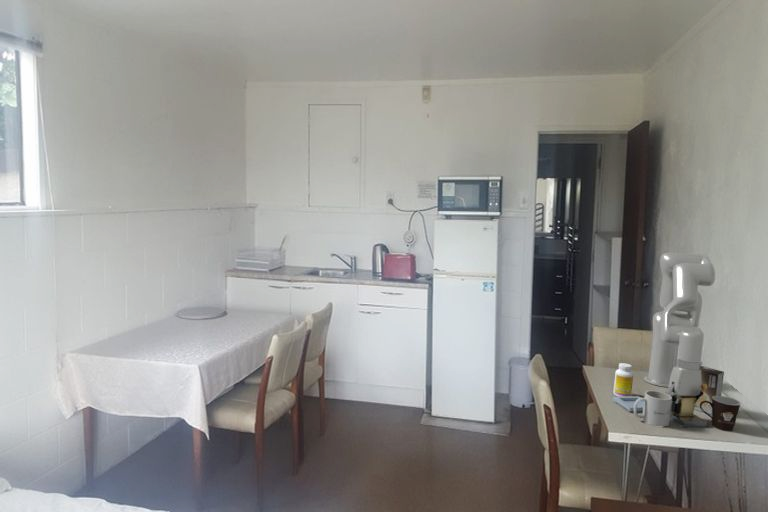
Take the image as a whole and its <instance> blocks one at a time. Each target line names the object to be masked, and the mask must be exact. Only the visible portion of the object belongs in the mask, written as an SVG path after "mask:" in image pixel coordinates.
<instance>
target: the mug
mask: <svg viewBox="0 0 768 512" xmlns="http://www.w3.org/2000/svg"><path fill="white" fill-rule="evenodd" d="M640 401H644V406H643V412H642V414H638V412H637V405H638V403H639V402H640ZM671 401H672V397H671V396H670V395H668V394H666V393H665V392H662V391H659V390H647V391H644V397H641V398H639V399H637V400H636V402H635V404H634V412H633V414H634V416H635V417H637V418H638V419H641V420H642V421H643V423H645V424H648V425H650V426H654V427H657V426H663V427H662V428H665V427H664V426H667V427H669V424H670V419H669V417H670V409H671Z"/></svg>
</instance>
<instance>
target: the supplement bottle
mask: <svg viewBox="0 0 768 512" xmlns="http://www.w3.org/2000/svg"><path fill="white" fill-rule="evenodd" d="M614 373H615V374H614V382H613V391H612V393H613V395H614V397H617V396H632V389H633V381H634V373H633V372H632V365H631V364H629V363H625V362H624V363H623V362H620V363H618V369H616V370H615V372H614Z"/></svg>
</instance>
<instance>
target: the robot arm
mask: <svg viewBox="0 0 768 512" xmlns="http://www.w3.org/2000/svg"><path fill="white" fill-rule="evenodd" d="M659 266H660V271H661V275H662V281H661V288H660V293H659V305H660V307H661V308H662V309H663V310H662V311H657V312H655V313H654V314H653V317H652V340H651V341H652V342H651V351H650V357H649V358H650V359H649V368H648V374H646V375H645V376H644V377H643V379H644V381H645V382H646V383H648V384H651V385H654V386H658V387H666V388H667V390H666V391H664V393H666V394H668V395H670V396H671V397H672V408H671V411H672V412H674V413H675V414H679V408H680V404H679V400H680V397H681V396H692V397H695V398H696V400H695V403H696V401H697V400H698V399H699V398H700V397H701V396H702V395H703V394H704V393H703V391H702V390H701V370H700V366H703V362H702V353H703V346H704V340H705V339H704V338H705V336H704V335H705V334H704V332H703V331H702V329H701V328H700V327H699V324H700V318H701V312H702V307H703V298H702V294H701V293H700V292H699V286H702V287H703V286H704V287H711V286H713V284H714V283H715V280H716V272H715V271H716V270H715V267H714V265H713V263H712V261H711V260H710V258H709V257H708V256H707V255H704V254H697V253H686V252H685V253H683V252H673V251H672V252H671V251H670V252H664V253H662V255H661V256H660V259H659ZM676 311H677V312H676ZM682 312H685V313H682ZM677 346H678V347H677ZM675 363H676V364H675ZM672 393H673V394H672ZM676 396H677V397H676Z"/></svg>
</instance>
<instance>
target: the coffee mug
mask: <svg viewBox="0 0 768 512" xmlns="http://www.w3.org/2000/svg"><path fill="white" fill-rule="evenodd" d="M705 402H707V403H709V404H710V405H711V407H712V415H711V414H708V413H706V412H705V411H704V410H703V409H702V407H701V405H702V404H703V403H705ZM700 408H701V410H702V411H703V412H702V411H701V412H702V413H704V414H705V415H706V416H708V417H709V418H710V419H711V424H712V425H711V426H712V427H713V428H715V429H717V430H720V431H724V432H733V430H734V429H735V425H736V422H737V417H738V414H739V412H740V411H739V410H740V408H741V402H740V401H739V400H737V399H735V398H732V397H728V396H724V395H721V396H713V397H712V403H711V402H709V401H702V402H701V403H700Z"/></svg>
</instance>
